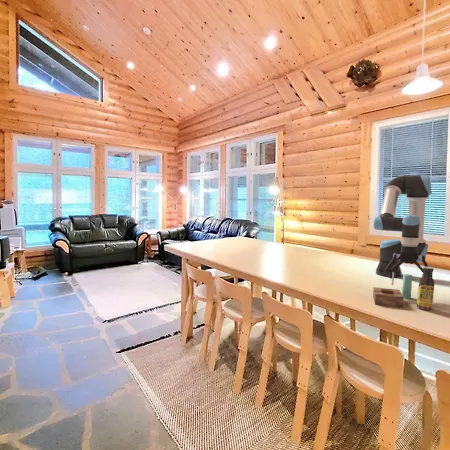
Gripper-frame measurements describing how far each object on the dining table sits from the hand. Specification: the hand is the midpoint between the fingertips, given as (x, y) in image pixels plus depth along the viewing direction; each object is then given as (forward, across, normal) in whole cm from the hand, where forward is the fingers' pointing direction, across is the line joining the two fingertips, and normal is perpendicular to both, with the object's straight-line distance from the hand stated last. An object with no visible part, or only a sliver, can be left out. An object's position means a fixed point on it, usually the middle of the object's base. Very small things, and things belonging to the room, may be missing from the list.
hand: (407, 286), depth 158 cm
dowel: (+6, 0, 0) cm, 6 cm away
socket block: (+7, -10, -10) cm, 15 cm away
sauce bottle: (+7, +5, -13) cm, 16 cm away
